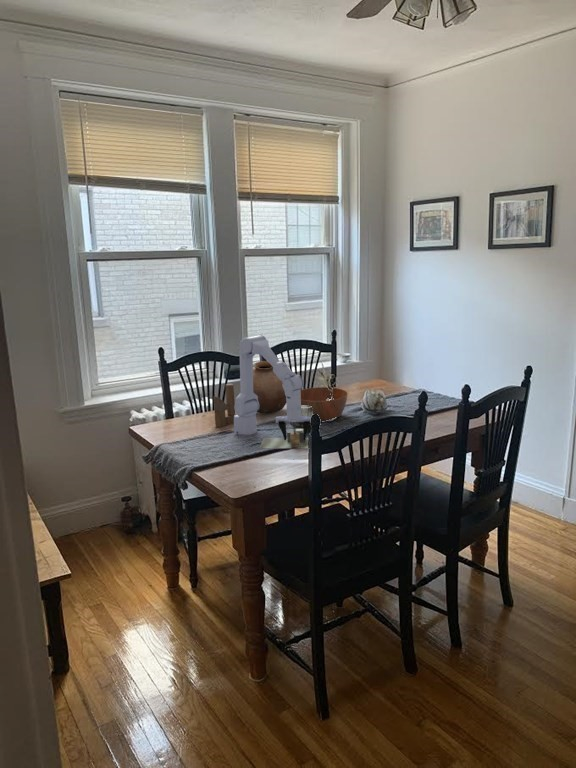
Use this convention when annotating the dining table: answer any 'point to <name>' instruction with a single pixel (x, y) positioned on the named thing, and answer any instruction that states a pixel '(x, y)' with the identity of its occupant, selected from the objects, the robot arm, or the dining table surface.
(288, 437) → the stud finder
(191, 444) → the dining table surface
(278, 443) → the subfloor board
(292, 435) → the small yellow jar
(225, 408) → the wooden block
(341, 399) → the bowl
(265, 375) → the pottery
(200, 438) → the dining table surface
